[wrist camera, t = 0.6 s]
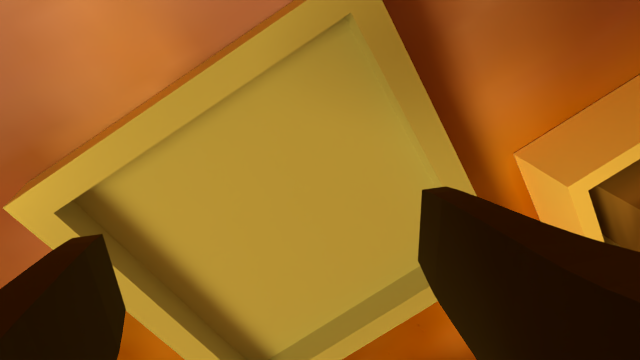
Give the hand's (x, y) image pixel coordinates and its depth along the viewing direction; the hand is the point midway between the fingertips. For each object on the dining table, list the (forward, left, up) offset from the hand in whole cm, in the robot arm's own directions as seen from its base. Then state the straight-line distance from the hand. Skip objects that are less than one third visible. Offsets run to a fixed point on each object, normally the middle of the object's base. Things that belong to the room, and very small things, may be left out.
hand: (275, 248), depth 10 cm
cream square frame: (-5, +1, -10) cm, 11 cm away
